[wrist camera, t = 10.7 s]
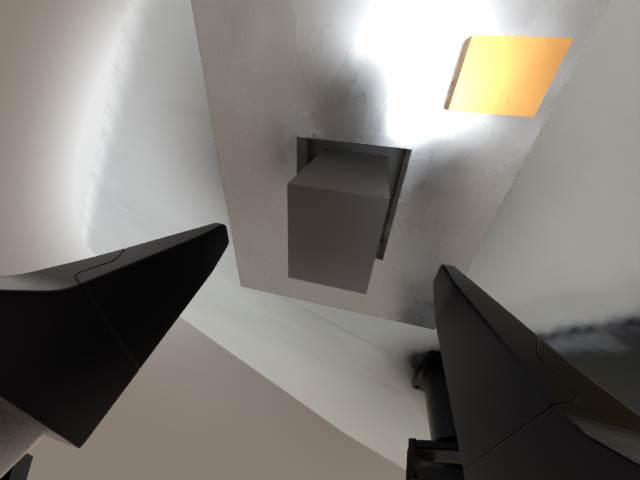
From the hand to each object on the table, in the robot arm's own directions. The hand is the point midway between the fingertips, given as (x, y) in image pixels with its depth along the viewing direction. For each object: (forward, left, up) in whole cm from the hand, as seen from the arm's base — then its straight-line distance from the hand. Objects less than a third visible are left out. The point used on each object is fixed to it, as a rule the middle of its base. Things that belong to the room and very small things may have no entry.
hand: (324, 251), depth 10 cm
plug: (0, 0, -8) cm, 8 cm away
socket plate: (0, 0, -8) cm, 8 cm away
